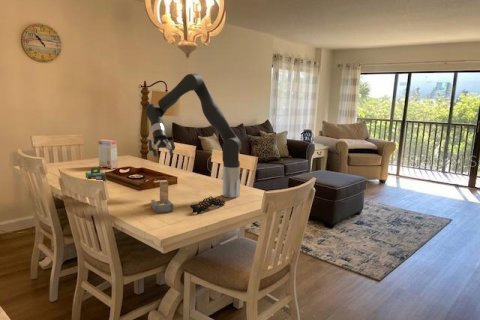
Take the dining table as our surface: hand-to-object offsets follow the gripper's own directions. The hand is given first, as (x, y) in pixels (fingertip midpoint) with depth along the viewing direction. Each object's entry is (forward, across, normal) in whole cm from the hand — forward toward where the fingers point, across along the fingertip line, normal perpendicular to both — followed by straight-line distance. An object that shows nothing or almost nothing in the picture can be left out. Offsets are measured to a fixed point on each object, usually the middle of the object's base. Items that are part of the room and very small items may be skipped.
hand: (163, 155), depth 194 cm
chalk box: (+5, -34, +28) cm, 44 cm away
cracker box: (-45, -20, +78) cm, 92 cm away
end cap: (+33, -7, -2) cm, 34 cm away
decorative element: (+38, +15, -7) cm, 42 cm away
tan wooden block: (+24, -3, +7) cm, 25 cm away
